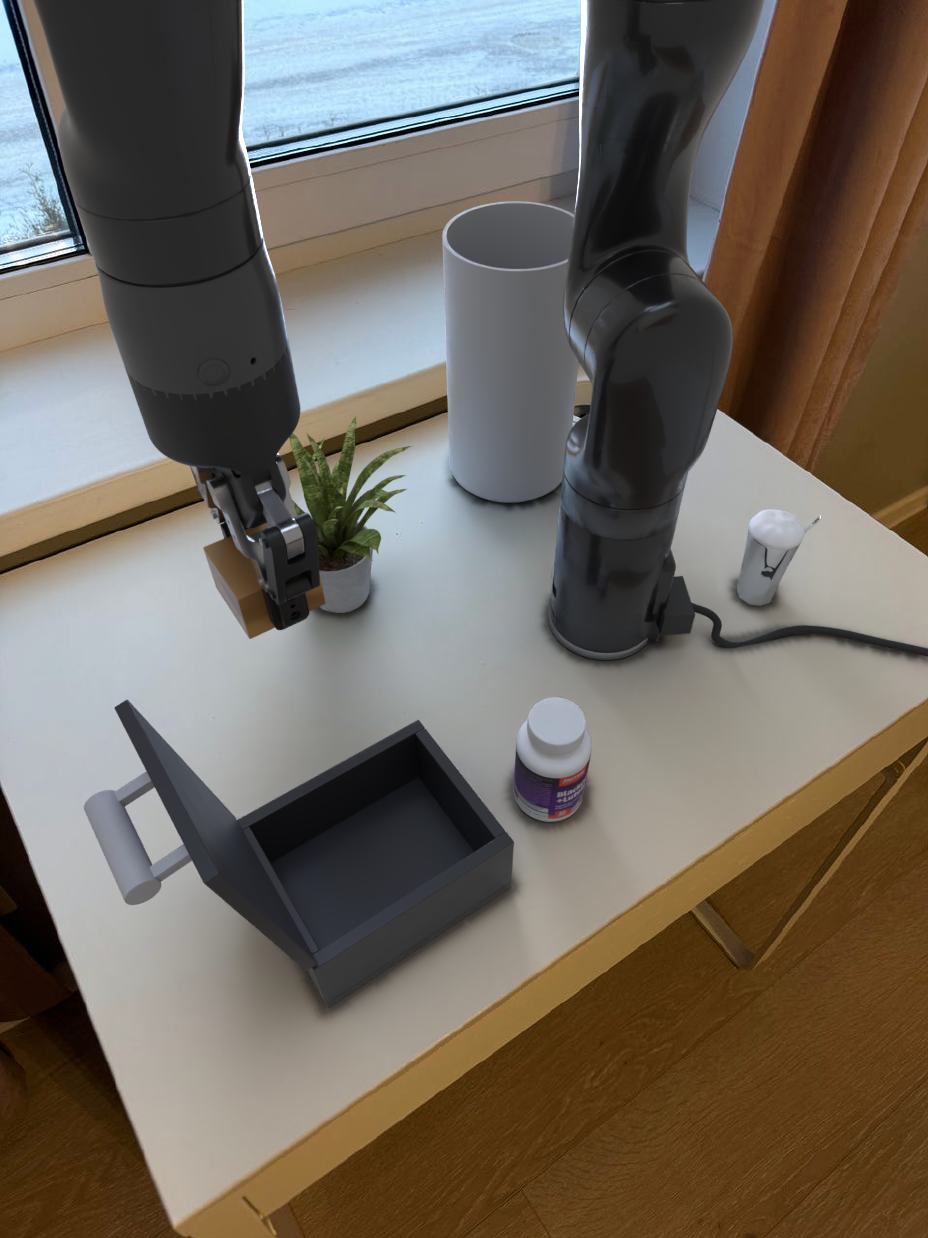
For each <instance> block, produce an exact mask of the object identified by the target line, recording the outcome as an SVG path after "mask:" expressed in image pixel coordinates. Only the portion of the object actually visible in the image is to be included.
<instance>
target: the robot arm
mask: <svg viewBox="0 0 928 1238" xmlns="http://www.w3.org/2000/svg"><path fill="white" fill-rule="evenodd" d="M32 2H33V5H34V8H35V10H36V13H37V16H38V19H39V22H40V26H41V28H42V31H43V35H44V37H45V38H44V39H45V41H46V45H47V48H48V51H49V55H50V59H51V62H52V65H53V69H54V72H55V76H56V79H57V83H58V86H59V90H60V92H61V96H62V99H63V102H64V109H63V111H62V112H61V114H60V117H59V121H58V128H57V139H58V147H59V151H60V157H61V161H62V165H63V166H62V167H63V170H64V174H65V177H66V180H67V183H68V186H69V190H70V192H71V195H72V199H73V202H74V206H75V208H76V211H77V213H78V214H77V215H78V217H79V219H80V220H79V221H80V223H81V225H82V228H83V232H84V235H85V237H86V241H87V243H88V247H89V249H90V252H91V255H92V258H93V260H94V262H95V263H94V264H95V267H96V271H97V274H98V278H99V283H100V288H101V294H102V301H103V305H104V309H105V313H106V316H107V320H108V324H109V326H110V329H111V332H112V335H113V337H114V340H115V341H114V342H115V343H116V346H117V348H118V349H117V350H118V352H119V355H120V358H121V361H122V363H123V367H124V369H125V372H126V375H127V378H128V381H129V384H130V387H131V389H132V393H133V395H134V399H135V400H136V404H137V406H138V409H139V413H140V415H141V418H142V421H143V424H144V426H145V430H146V433H147V436H148V439H149V440H150V441H151V443H152V445H153V446H154V447H155V449H157V451H159V452H160V454H162V455H164V456H165V457H166V458H168V459H169V460H171V461H174V462H176V463H179V464H182V465H185V466H188V467H189V468H190V471H191V473H192V476H193V478H194V481H195V484H196V486H195V488H196V491H197V493H198V495H200V496H201V497H202V499H203V501H204V503H205V504H206V506H207V508H209V510H210V511H209V512H210V516H211V517H212V519H213V520H215V522H216V523H217V524H218V525H219V526H220V529H221V533H222V537H223V539H224V538H227V537H230V536H232V538H233V540H234V543H235V546H236V548H237V549H238V550H239V551H240V552H241V553H242V554H243V555H244V556H245V557H246V558H249V559H251V561H252V564H253V567H254V569H255V572H256V575H257V577H258V579H257V582H258V584H259V586H260V587H261V588H262V592H263V595H264V599H265V603H266V606H267V610H268V614H269V617H270V621H271V622H272V624H273V625H274V627H275V628H274V629H276V630H277V631H284V630H286V629H288V628H290V627H292V626H294V625H296V624H299V623H300V622H303V621H305V620H306V619H308V617H309V616H310V613H311V611H309V607H308V602H307V598H306V592H308V591H310V590H312V589H314V588H317V587H319V586H320V575H319V556H318V537H317V529H316V527H317V526H316V523H315V520H314V519H313V518H312V517H311V514H310V512H306V511H305V513H304V514H302V515H299V516H297V513H296V510H295V507H294V504H293V501H294V500H293V498H292V495H291V492H290V488H291V484H292V483H291V481H292V480H291V477H290V474H289V472H288V469H287V466H286V463H285V460H284V459H283V457H282V456H281V454H280V453H279V452H280V450H281V449H282V447H283V446H284V445H285V443H286V442H287V441H288V440H289V439H290V438H289V437H290V436H291V435H292V433H293V434H294V432H295V430H296V428H297V427H298V425H299V421H300V417H301V401H300V396H299V390H298V386H297V380H296V374H295V370H294V369H295V368H294V364H293V358H292V353H291V346H290V341H289V336H288V332H287V331H288V330H287V325H286V319H285V315H284V309H283V304H282V298H281V293H280V288H279V284H278V281H277V277H276V273H275V271H274V267H273V264H272V261H271V257H270V256H269V253H268V249H267V247H266V243H265V237H264V233H263V229H262V223H261V218H260V212H259V207H258V202H257V197H256V191H255V187H254V181H253V175H252V170H251V166H250V162H249V156H248V152H247V148H246V145H245V141H244V137H243V130H242V126H243V125H242V124H243V108H244V107H243V106H244V92H245V29H244V25H245V24H244V21H245V17H244V16H245V14H244V13H245V12H244V0H32ZM764 3H765V0H580V11H581V13H580V14H581V16H580V24H581V27H580V30H581V31H580V32H581V34H580V35H581V37H580V58H579V59H580V63H579V65H580V66H579V67H580V68H579V70H580V71H579V166H578V178H577V179H578V180H577V189H576V197H575V198H576V199H575V205H574V206H575V207H574V213H573V214H574V221H573V228H572V236H571V243H570V250H569V257H568V264H567V270H566V278H565V285H564V294H563V324H564V329H565V333H566V336H567V339H568V342H569V345H570V347H571V349H572V351H573V352H574V354H575V356H576V357H577V359H578V361H579V364H580V366H581V368H582V370H583V371H584V373H585V375H586V377H587V378H588V379H589V381H590V383H591V396H590V397H591V398H590V399H591V400H590V405H589V406H590V407H589V413H587V414H585V415H583V416H582V417H581V418H579V419H578V420H577V421H576V422H575V423H574V424H573V426H572V428H571V430H570V432H569V434H568V437H567V440H566V445H565V453H564V464H563V477H562V482H561V488H560V500H559V508H558V509H559V512H558V521H557V530H556V531H557V532H556V541H555V554H554V562H553V571H552V574H551V577H550V578H551V581H550V600H549V605H548V617H547V618H548V624H549V627H550V630H551V632H552V634H553V636H554V637H555V638H556V640H558V642H559V643H560V644H561V645H563V646H564V647H565V648H566V649H568V650H570V651H571V652H573V653H575V654H577V655H579V656H582V657H585V658H589V659H593V660H601V661H612V660H620V659H622V658H626V657H629V656H631V655H632V656H633V655H634V654H636V653H638V652H639V651H640V650H641V649H643V648H644V647H645V646H646V645H648V644H655V643H658V642H659V641H660V636H674V635H689V634H691V632H692V629H693V624H694V621H695V617H696V614H698V615H701V616H704V617H706V618H707V619H709V620H710V621H711V622H712V629H711V634H710V635H711V636H710V637H711V639H712V641H713V642H714V644H716V645H718V646H719V647H721V648H724V649H737V648H741V647H746V646H747V647H748V646H753V645H759V644H762V643H767V642H771V641H774V640H776V639H779V638H783V637H787V636H791V635H797V634H812V635H813V634H814V635H824V636H831V637H838V638H843V639H848V640H852V641H855V642H861V643H865V644H869V645H873V646H878V647H882V648H885V649H886V648H887V649H892V650H895V651H899V652H905V653H909V654H914V655H919V656H923V657H928V647H923V646H918V645H914V644H909V643H904V642H900V641H895V640H891V639H887V638H886V639H885V638H881V637H877V636H873V635H868V634H864V633H860V632H855V631H852V630H846V629H842V628H835V627H831V626H829V627H828V626H821V625H820V626H819V625H807V624H806V625H793V626H787V627H783V628H779V629H776V630H773V631H769V632H767V633H765V634H762V635H759V636H757V637H754V638H751V639H748V640H744V641H731V640H728V639H725V638H723V637H722V636H721V633H722V632H721V631H722V626H723V623H722V620H721V618H720V617H719V616H718V614H717V613H716V612H715V611H714V610H712V609H710V608H708V607H706V606H703V605H701V604H697V603H694V602H692V600H691V597H690V594H689V590H688V587H687V585H686V581H685V579H684V575H677V576H675V572H676V569H677V565H676V560H675V556H674V554H673V551H672V545H673V541H674V537H675V532H676V528H677V524H678V520H679V519H678V518H679V513H680V511H681V505H682V501H683V496H684V492H685V488H686V485H687V484H686V483H687V480H688V475H689V472H690V471H691V469H692V468H693V467H694V466H695V464H696V463H697V462H698V461H699V459H700V457H701V456H702V454H703V452H704V450H705V448H706V446H707V443H708V441H709V438H710V435H711V431H712V428H713V426H714V425H713V424H714V421H715V418H716V414H717V412H718V409H719V405H720V403H721V400H722V395H723V391H724V390H725V389H724V388H725V385H726V382H727V378H728V374H729V370H730V366H731V361H732V355H733V346H734V332H733V331H734V330H733V325H732V321H731V318H730V315H729V313H728V311H727V310H726V307H725V306H724V305H723V303H721V301H720V300H719V299H718V298H717V296H716V295H715V294H714V293H713V292H712V291H711V289H710V288H709V286H708V285H707V284H706V283H705V282H704V280H703V279H702V278H701V277H700V276H699V275H698V273H697V272H696V271H695V270H694V269H693V267H692V266H691V265H690V261H689V257H688V219H689V218H688V217H689V208H690V197H691V188H692V178H693V173H694V169H695V168H694V167H695V162H696V159H697V155H698V151H699V147H700V146H701V143H702V139H703V137H704V134H705V132H706V130H707V128H708V126H709V124H710V122H711V120H712V118H713V116H714V114H715V113H716V110H717V109H718V107H719V105H720V103H721V101H722V99H724V96H725V95H726V93H727V91H728V89H729V87H730V85H731V84H732V82H733V80H734V78H735V77H736V74H737V73H738V71H739V69H740V67H741V65H742V63H743V61H744V59H745V57H746V55H747V52H748V50H749V48H750V46H751V43H752V41H753V39H754V36H755V34H756V31H757V27H758V25H759V22H760V19H761V15H762V11H763V8H764ZM292 500H293V501H292ZM265 523H268V526H269V527H268V528H266V529H264V530H261V531H259V532H257V533H254V534H252V535H246V533H245V530H246V529H249V528H255V527H258V526H260V525H263V524H265Z"/></svg>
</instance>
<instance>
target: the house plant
mask: <svg viewBox="0 0 928 1238" xmlns="http://www.w3.org/2000/svg"><path fill="white" fill-rule="evenodd" d="M356 428H357V416H355V417H354V418H353V419H352V421H351V423H350V425H349V426H348V428H347V431H346V433H345V436H344V440H343V443H342V448H341V453H340V457H339V459H338V461H337V462H336V464H335V465H334V467H333V469H332V472H331V468H330V466H329V463H328V460H327V457H326V456H325V454H324V453H323V451H322V447H323V444H324V441H325V438H323V439H322V440H321V442H320V443H319V444H318V443H317V441H315V439H314V438H313V437H312V436H311V435H309V433H308V432H307V431H306V432H305V433H306V437H307V439H308V441H309V444H310V446H311V449H312V450H313V454H312V455H311V454H310V453H309V451H307V449H305V447H304V446H303V445H302V443H301V440H299V437H298V436H297V435H296V434H294V432H293V433H292V435H291V436H290V437H289V438H288V439H289V442H290V443H289V444H290V447H291V451H292V455H293V459H294V461H295V464H296V468H297V472H298V475H299V480H300V485H301V488H302V492H303V498H304V501H305V505H306V508H307V510H308V513H309V515H310V516H311V517H312V518H313V519H314V520H315V523H316V526H317V527H316V529H317V537H318V556H319V572H320V577H321V582H322V587H323V592H324V597H325V602H326V604H325V605H323V606H320V607H319V608H320V609H321V610H323V611H326V612H329V613H336V614H345V613H350V612H352V611H354V610H357V609H358V608H359V607H361V606H362V605H363V604H365V602H366V601H367V600H368V597H369V594H370V585H371V584H370V583H371V575H372V574H371V573H372V564H373V554H374V553H373V552H374V550H375V551H376V553H377V554H379V548H380V545H381V544H380V543H381V541H382V536H381V533H380V531H379V530H377V529H375V528H368V527H367V526H366V523H367V522H368V520H369V519H370V518H372V516H373V514H375V512H377V511H378V510H379V509H380V510H383V511H386V512H389V513H390V512H392V513H395V514H397V512H396V511H395V510H394V509H392V508H391V507H390V506H389V505H387V504H386V503H387V502H388V501H389V500H390V499H391V498H392V497H394V496H395V495H398V494H401V493H403V492H405V491H406V490H407V488H402V489H394V490H391V491H386V490H384V488H385V487H386V486H387V485H388V484H390V483H392V482H393V481H396V480H399V479H401V478H403V477H405V476H406V475H405V474H400V475H393V476H388V477H386V478H384V479H383V480H381V481H379V482H378V483H376V485H374V486H373V488H371V489H369V490H367V491H365V492H364V493H363V494H362V495H360V496H359V497H357V496H358V494H359V493H360V491H361V489H362V488H363V487H364V485H365V484H366V482H367V481H368V480H369V479H370V478H371V476H372V475H373V474H374V473H375V472H376V471H377V470H379V468H381V467H382V466H383V465H385V463H386V462H387V461H388V460H390V459H391V458H392V457H394V456H396V455H398V454H400V453H403V452H405V451H407V450H408V449H410V448H411V447H413V445H408V446H402V447H397V448H394V449H391V450H388V451H386V452H383V453H382V454H380V455H378V456H376V457H375V458H374V459H373V460H372V461H370V462H369V463H368V464H367V465H366V466H365V467H364V468H363V469H362V470H361V472H360V473H359V475H358V476H357V478H356V480H355V483H354V485H353V487H352V489H351V490H350V492H349V494H348V486H349V481H350V476H351V472H352V467H353V461H354V457H355V451H356ZM315 461H317V465H318V469H317V466H316V464H315ZM318 471H319V472H318ZM347 494H348V495H347ZM292 501H293V504H294V507H295V510H296V513H297V516H299V515H302V514H304V513H306V511H304V510H303V509H302V508H301V507H300V506H299V505H298V504H297V503H296V502H295V501H294V500H293V499H292ZM367 508H368V509H367ZM365 509H367V510H366V511H365ZM364 511H365V513H364V515H363V516H362V514H363V512H364ZM361 516H362V517H361ZM360 517H361V519H360ZM359 519H360V520H359Z"/></svg>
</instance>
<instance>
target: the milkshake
mask: <svg viewBox="0 0 928 1238" xmlns="http://www.w3.org/2000/svg"><path fill="white" fill-rule="evenodd" d="M821 519H822V515H819V516H818V517H816V518H815V519H814V520H813V521H812V522H811V523H810V524H809V525H808V526H807V527H806V528H805V527H804V525H803V523H802V522H801V521H800V519H799V518H798V517H796V516H795V515H794V514H793V513H790V512H788V511H785V510H783V509H782V510H781V509H772V508H769V509H763V510H760V511H759V512H757V513H756V514H755V515H753V516H752V518H751V519H750V521H749V525H748V530H747V535H746V541H745V547H744V552H743V557H742V562H741V567H740V570H739V571H740V572H739V575H738V580H737V585H736V592H737V594H738V597H739V599H740V600H741V601H743V602H745V603H746V604H748V605H749V606H756V607H757V606H758V607H762V606H765V605H767V604H770V603H771V601H772V600H773V598H774V595H775V594H776V591H777V590H778V587H779V585H780V583H781V581H782V579H783V577H784V575H785V573H786V571H787V570H788V567H789V565H790V563H791V562H792V561H793V559H794V557H795V555H796V553H797V551H798V549H799V547H800V546H801V544H802V542H803V540H804V538H805V535H806V534H807V533H808V531H810V530H811V529H812V528H813V527H814V526H815V525H816V524H817V523H818V522H819V521H821ZM804 528H805V529H804Z"/></svg>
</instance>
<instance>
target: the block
mask: <svg viewBox="0 0 928 1238" xmlns="http://www.w3.org/2000/svg"><path fill="white" fill-rule="evenodd" d="M268 527H269V526H268V523H265V524H263V525H260V526H258V527H255V528H249V529H246V530H245V533H246V535H252V534H254V533H257V532H259V531H261V530H264V529H266V528H268ZM202 549H203V551H204V555H205V559H206V561H207V564H208V567H209V570H210V573H211V576H212V579H213V582H214V585H215V588H216V590H217V591H218V593H219V594H220V596H221V598H222V599H223V601H224V602H225V603H226V605H227V606H228V608H229V610H230V612H231V613H232V614H233V616H234V618H235V619H236V621H237V622H238V624H239V625H240V627H241V629H242V630H243V632H244V633H245V634H246V636H247V639H249V640H252V639H254V638H256V637H258V636H260V635H262V634H265V633H266V632H269V631H271V630H273V629H276V628H275V627H274V625H273V624H272V622H271V621H270V617H269V614H268V610H267V606H266V603H265V599H264V595H263V592H262V588H261V587H260V586H259V584H258V582H257V579H258V577H257V575H256V572H255V569H254V567H253V564H252V561H251V559H249V558H246V557H245V556H244V555H243V554H242V553H241V552H240V551H239V550H238V549H237V548H236V546H235V543H234V540H233V538H232V536H230V537H227V538H224V537H223V538H222V539H219V540H217V541H215V542H212V543H210V544H208V545H205V546H203V548H202ZM319 575H320V572H319ZM306 598H307V602H308V607H309V611H310V612H312V611H314V610H316V609H319V608H320V606H323V605H325V604H326V602H325V597H324V592H323V587H322V582H321V577H320V586H319V587H317V588H314V589H312V590H310V591H308V592H306Z"/></svg>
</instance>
